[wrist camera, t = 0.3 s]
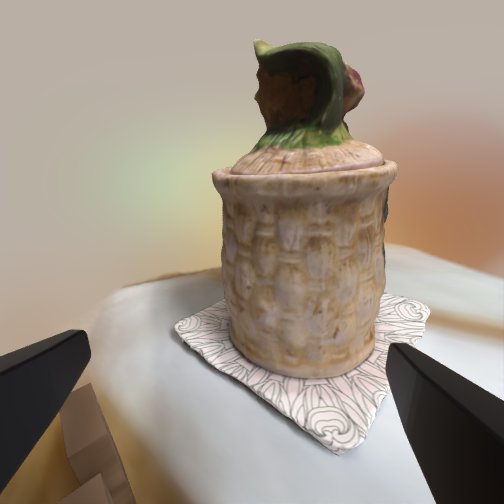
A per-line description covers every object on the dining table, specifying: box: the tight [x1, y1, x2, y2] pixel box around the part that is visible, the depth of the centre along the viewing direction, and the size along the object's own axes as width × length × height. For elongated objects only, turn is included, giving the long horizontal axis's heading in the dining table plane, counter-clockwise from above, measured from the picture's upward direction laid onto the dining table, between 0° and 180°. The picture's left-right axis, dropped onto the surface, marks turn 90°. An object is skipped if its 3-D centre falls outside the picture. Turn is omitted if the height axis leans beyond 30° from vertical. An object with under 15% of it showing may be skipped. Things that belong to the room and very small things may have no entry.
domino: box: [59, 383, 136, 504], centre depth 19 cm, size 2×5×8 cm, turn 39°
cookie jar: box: [174, 39, 430, 456], centre depth 30 cm, size 25×25×32 cm
